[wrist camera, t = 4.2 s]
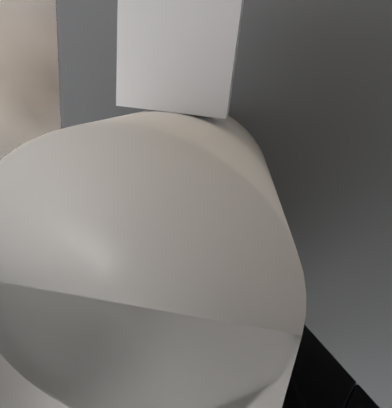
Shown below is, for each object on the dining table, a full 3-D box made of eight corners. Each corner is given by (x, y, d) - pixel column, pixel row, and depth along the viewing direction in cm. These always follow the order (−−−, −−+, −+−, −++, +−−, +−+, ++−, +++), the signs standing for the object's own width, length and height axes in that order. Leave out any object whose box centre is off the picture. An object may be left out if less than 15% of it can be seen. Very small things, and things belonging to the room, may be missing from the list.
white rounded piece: (230, 395, 11) (222, 621, 6) (107, 371, 11) (13, 567, 7) (307, 0, 7) (450, -194, 2) (111, -17, 7) (-126, -211, 3)
